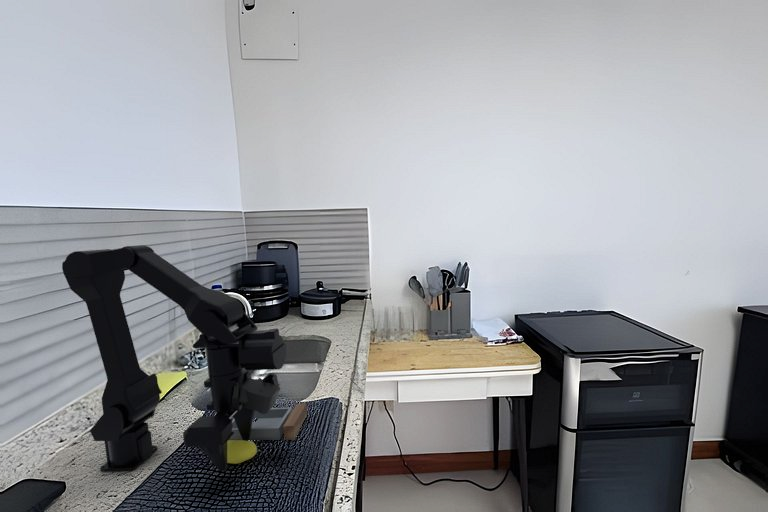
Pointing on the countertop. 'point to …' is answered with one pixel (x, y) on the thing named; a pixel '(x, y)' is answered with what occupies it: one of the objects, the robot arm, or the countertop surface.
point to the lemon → (240, 451)
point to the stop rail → (295, 421)
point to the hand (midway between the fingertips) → (235, 454)
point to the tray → (266, 425)
